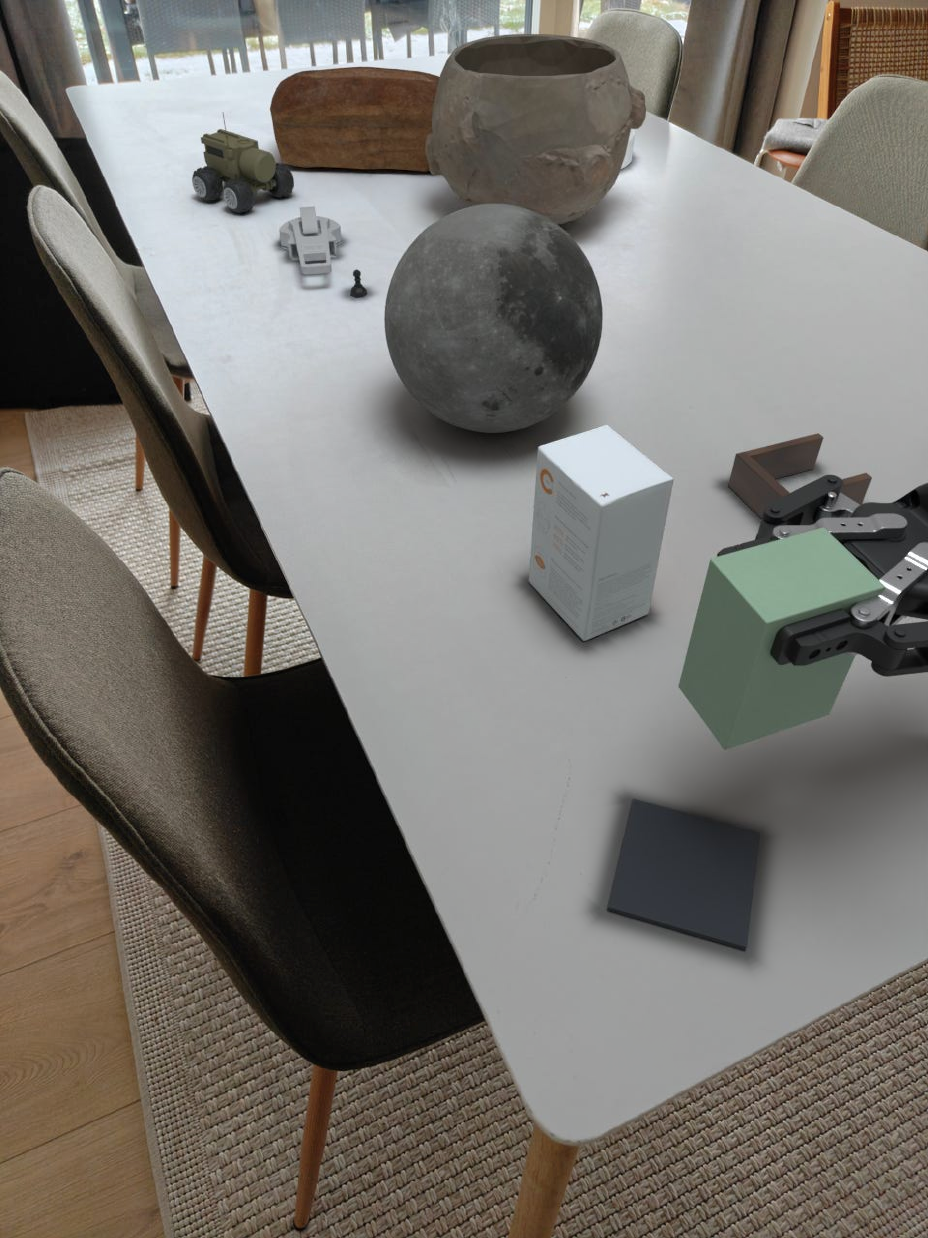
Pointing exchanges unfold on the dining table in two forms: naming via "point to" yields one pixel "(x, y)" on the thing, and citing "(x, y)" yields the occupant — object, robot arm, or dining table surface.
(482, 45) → the bowl
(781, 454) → the u-shaped bracket
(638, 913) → the rubber mat
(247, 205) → the toy vehicle
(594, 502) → the small box
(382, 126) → the bread
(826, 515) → the robot arm
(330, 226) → the zipper pull
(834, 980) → the dining table surface
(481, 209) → the decorative sphere
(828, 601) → the green rectangular block
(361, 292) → the chess pawn
